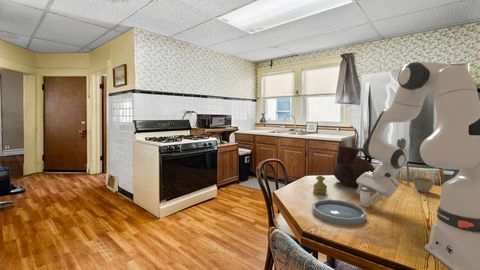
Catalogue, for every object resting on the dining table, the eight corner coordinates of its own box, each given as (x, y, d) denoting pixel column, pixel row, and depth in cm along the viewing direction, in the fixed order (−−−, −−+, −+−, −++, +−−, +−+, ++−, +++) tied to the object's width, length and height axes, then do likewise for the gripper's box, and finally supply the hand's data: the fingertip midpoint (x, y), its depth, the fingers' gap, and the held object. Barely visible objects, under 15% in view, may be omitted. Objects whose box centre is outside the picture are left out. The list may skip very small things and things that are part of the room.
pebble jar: (371, 207, 117) (372, 190, 117) (361, 206, 118) (362, 189, 118) (368, 203, 122) (369, 187, 121) (358, 203, 123) (359, 186, 122)
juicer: (388, 182, 160) (391, 137, 157) (398, 180, 164) (401, 137, 162) (403, 186, 151) (406, 139, 148) (414, 184, 156) (417, 138, 153)
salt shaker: (317, 195, 133) (318, 178, 133) (310, 191, 141) (311, 174, 140) (329, 194, 135) (330, 177, 135) (321, 190, 143) (322, 173, 142)
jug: (384, 190, 144) (387, 148, 141) (343, 190, 142) (345, 148, 140) (361, 178, 169) (363, 143, 166) (326, 179, 167) (327, 143, 165)
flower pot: (437, 194, 137) (438, 182, 136) (417, 193, 139) (418, 181, 138) (427, 189, 147) (428, 177, 146) (408, 188, 149) (409, 176, 148)
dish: (372, 227, 97) (372, 221, 96) (314, 221, 101) (315, 215, 101) (357, 206, 118) (358, 201, 118) (311, 202, 123) (311, 197, 123)
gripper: (363, 166, 130) (347, 185, 129) (396, 176, 110) (376, 199, 109) (370, 174, 132) (353, 193, 130) (403, 185, 112) (384, 207, 111)
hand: (364, 196), depth 120 cm, fingers open, 8 cm apart
